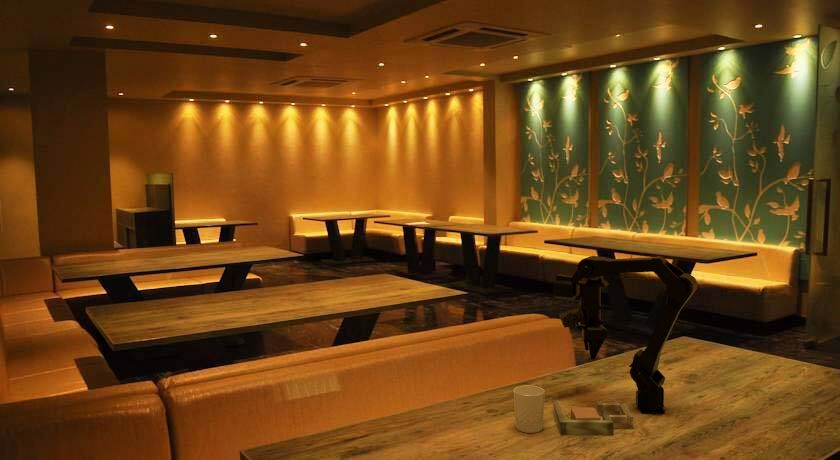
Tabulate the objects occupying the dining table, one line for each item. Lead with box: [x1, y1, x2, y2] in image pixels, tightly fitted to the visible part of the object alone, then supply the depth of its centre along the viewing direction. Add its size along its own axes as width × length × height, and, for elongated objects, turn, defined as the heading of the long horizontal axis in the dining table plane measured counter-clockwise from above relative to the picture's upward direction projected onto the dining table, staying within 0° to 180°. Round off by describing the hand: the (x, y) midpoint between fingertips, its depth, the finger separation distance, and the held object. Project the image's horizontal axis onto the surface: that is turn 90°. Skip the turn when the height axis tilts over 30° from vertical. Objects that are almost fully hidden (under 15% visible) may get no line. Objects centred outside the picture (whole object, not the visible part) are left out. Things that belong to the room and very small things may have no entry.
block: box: [570, 407, 601, 420], centre depth 171 cm, size 6×7×4 cm
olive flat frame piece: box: [552, 400, 634, 436], centre depth 174 cm, size 19×16×3 cm
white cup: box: [512, 385, 546, 434], centre depth 171 cm, size 8×8×10 cm
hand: (589, 354), depth 190 cm, fingers open, 9 cm apart
